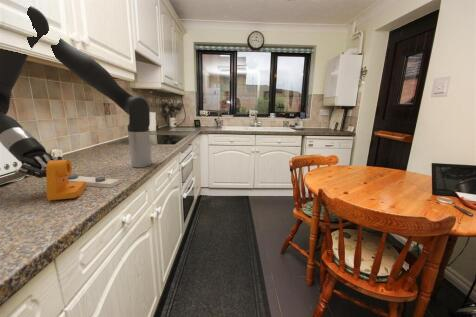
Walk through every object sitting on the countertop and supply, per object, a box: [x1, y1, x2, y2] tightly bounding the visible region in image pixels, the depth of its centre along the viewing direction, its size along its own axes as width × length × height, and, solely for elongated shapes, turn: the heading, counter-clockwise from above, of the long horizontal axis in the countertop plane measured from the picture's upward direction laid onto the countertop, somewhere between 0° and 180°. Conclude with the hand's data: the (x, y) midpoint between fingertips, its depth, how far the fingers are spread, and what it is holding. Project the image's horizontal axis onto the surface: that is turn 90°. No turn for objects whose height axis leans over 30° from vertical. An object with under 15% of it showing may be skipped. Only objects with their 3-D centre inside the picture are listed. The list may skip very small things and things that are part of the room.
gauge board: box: [67, 174, 121, 189], centre depth 81 cm, size 5×24×2 cm, turn 81°
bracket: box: [46, 159, 87, 201], centre depth 69 cm, size 11×7×12 cm, turn 20°
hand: (61, 182), depth 70 cm, fingers closed
